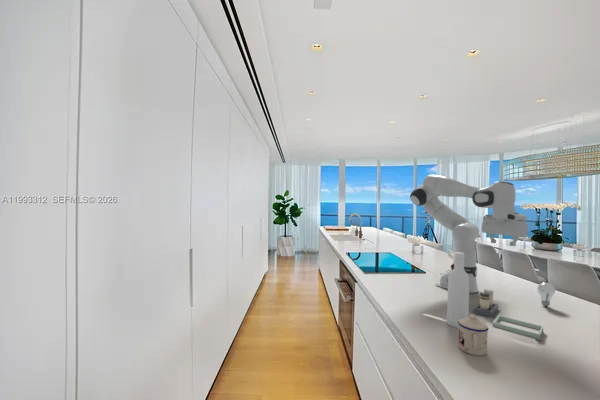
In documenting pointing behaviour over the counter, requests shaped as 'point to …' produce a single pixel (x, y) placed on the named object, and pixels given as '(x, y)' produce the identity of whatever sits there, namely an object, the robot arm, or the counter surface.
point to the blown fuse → (484, 301)
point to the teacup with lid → (472, 336)
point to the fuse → (490, 296)
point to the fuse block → (491, 313)
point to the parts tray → (535, 335)
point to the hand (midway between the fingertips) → (502, 244)
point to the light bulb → (545, 293)
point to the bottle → (457, 292)
